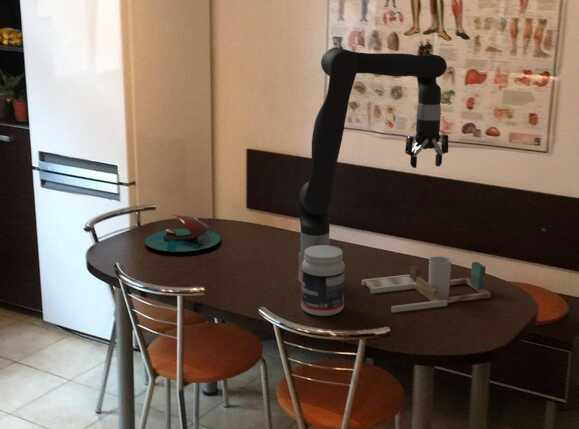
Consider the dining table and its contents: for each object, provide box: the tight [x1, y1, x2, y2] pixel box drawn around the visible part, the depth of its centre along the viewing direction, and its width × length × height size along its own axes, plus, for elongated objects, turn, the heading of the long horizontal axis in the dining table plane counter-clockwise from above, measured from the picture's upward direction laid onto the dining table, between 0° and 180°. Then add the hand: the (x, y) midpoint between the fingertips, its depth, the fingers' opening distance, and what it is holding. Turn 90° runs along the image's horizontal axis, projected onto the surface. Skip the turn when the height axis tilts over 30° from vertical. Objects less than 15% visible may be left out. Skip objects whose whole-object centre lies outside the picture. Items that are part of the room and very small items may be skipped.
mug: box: [427, 255, 452, 298], centre depth 251 cm, size 10×7×12 cm, turn 140°
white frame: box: [414, 261, 491, 304], centre depth 252 cm, size 19×14×8 cm
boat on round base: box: [144, 214, 221, 252], centre depth 299 cm, size 28×28×11 cm
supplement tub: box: [300, 245, 346, 317], centre depth 238 cm, size 13×13×18 cm
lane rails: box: [361, 274, 448, 313], centre depth 252 cm, size 18×24×2 cm
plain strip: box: [364, 264, 421, 291], centre depth 259 cm, size 17×5×5 cm, turn 107°
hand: (425, 166), depth 263 cm, fingers open, 8 cm apart
